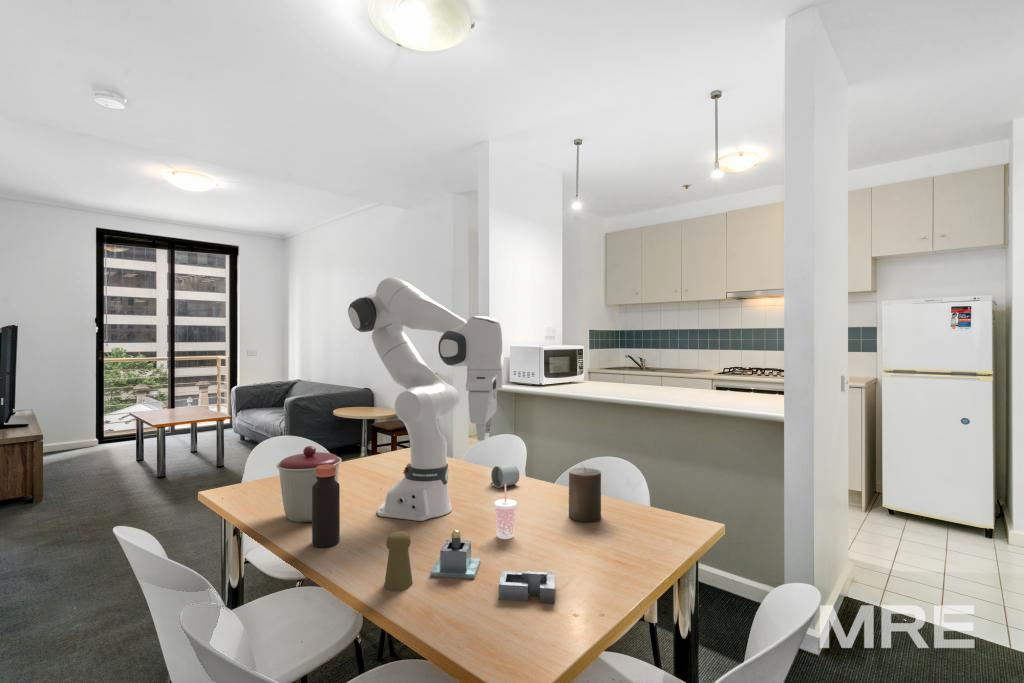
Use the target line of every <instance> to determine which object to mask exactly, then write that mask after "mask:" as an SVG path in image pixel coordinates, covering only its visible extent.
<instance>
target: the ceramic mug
mask: <svg viewBox="0 0 1024 683" xmlns="http://www.w3.org/2000/svg"><path fill="white" fill-rule="evenodd" d="M491 469H492V470H491V475H490V478H491V479H490V480H491V482H492V484H493V486H494V487H495V488H496V489H497V488H498V489H499V488H505V484H506V487H510V486H513V485H516V484H517V483H518V482H519V481H520V471H519V468H518V467H517V466H516V465H513V464H506V465H504V464H503V465H495V466H493V468H491Z"/></svg>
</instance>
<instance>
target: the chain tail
mask: <svg viewBox="0 0 1024 683" xmlns="http://www.w3.org/2000/svg"><path fill="white" fill-rule="evenodd" d="M499 578H500V579H499V581H498V600H508V601H509V600H510V601H522V602H523V601H525V602H528V601H529V595H530V596H531V595H533V596H539V604H552V605H553V604H554V605H555V603H556V572H550V571H528V570H522V571H511V570H509V571H507V570H502V571H501V574H500V577H499Z"/></svg>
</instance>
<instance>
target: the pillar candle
mask: <svg viewBox="0 0 1024 683" xmlns="http://www.w3.org/2000/svg"><path fill="white" fill-rule="evenodd" d="M568 517H569V518H570V519H571V520H573V521H576V522H582V523H594V522H598V521H600V520H601V518H602V472H601V471H600V470H599V469H596V468H591V467H590V468H589V467H576V468H571V469H568Z"/></svg>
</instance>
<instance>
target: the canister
mask: <svg viewBox="0 0 1024 683" xmlns="http://www.w3.org/2000/svg"><path fill="white" fill-rule="evenodd" d="M341 463H342V458H341V457H339V456H338V455H336V454H334V453H330V452H320V451H319V452H317V448H316V447H315V446H312V445H308V446H306V447H304V448H303V451H302V453H298V454H294V455H290V456H287V457H285V458H283V459H282V460H280V461H279V462H277V464H276V468H277V469H278V472H279V480H280V481H279V482H280V489H281V490H280V491H281V498H282V505H283V510H284V514H285V516H286V519H288V520H289V521H291V522H295V523H310V522H311V523H312V486H313V485H314V484H315V483H316V482H317V478H316V467H317V466H320V465H326V464H332V465H335V466H336V474H335V475H336V476H335V480H336V481H337V482H338V479H339V470H340V464H341Z"/></svg>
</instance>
